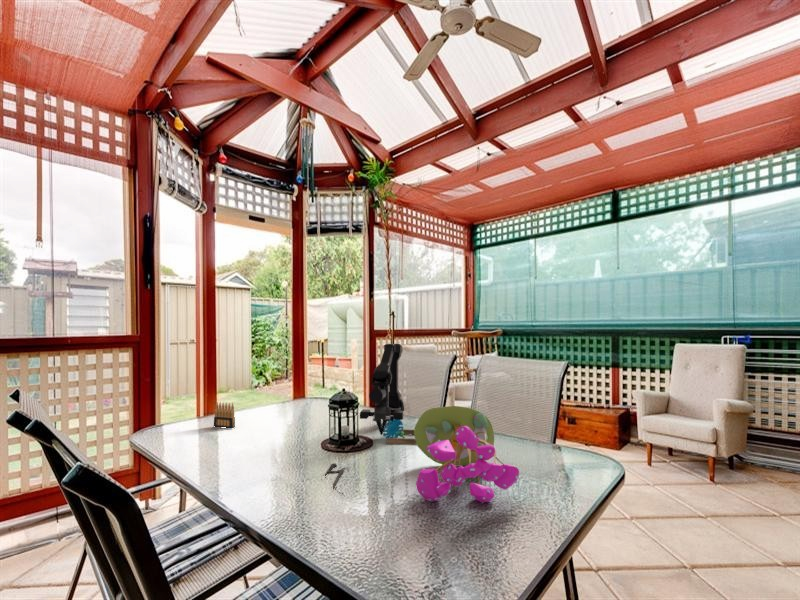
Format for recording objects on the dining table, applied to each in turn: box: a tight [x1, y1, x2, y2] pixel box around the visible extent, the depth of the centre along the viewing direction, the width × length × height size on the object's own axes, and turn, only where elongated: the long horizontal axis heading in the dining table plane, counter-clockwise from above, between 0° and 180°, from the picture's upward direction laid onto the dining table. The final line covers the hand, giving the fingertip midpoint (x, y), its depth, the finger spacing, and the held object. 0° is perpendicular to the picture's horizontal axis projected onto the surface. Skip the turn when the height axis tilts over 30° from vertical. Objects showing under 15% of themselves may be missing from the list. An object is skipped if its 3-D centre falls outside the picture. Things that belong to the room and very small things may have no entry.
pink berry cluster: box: [413, 405, 520, 504], centre depth 114 cm, size 30×28×35 cm
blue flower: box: [382, 419, 405, 440], centre depth 164 cm, size 11×6×10 cm
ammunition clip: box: [213, 401, 236, 429], centre depth 179 cm, size 11×2×12 cm, turn 75°
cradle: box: [386, 428, 417, 445], centre depth 162 cm, size 14×20×3 cm
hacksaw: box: [324, 462, 350, 495], centre depth 119 cm, size 24×10×2 cm, turn 173°
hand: (381, 434), depth 162 cm, fingers closed
